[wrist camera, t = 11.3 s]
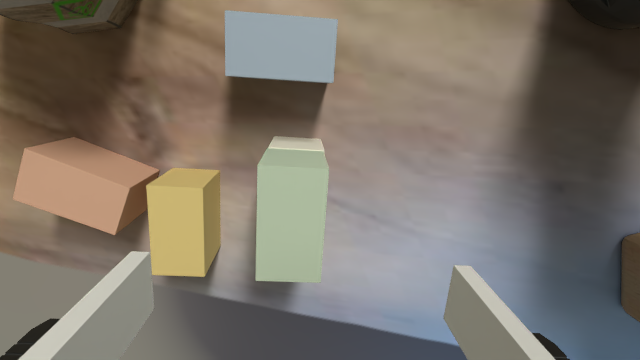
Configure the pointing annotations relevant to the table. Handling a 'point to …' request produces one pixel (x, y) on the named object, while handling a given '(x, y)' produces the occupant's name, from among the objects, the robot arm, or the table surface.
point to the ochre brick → (184, 221)
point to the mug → (70, 13)
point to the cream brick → (296, 143)
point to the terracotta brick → (84, 183)
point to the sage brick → (291, 215)
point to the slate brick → (280, 47)
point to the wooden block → (631, 275)
